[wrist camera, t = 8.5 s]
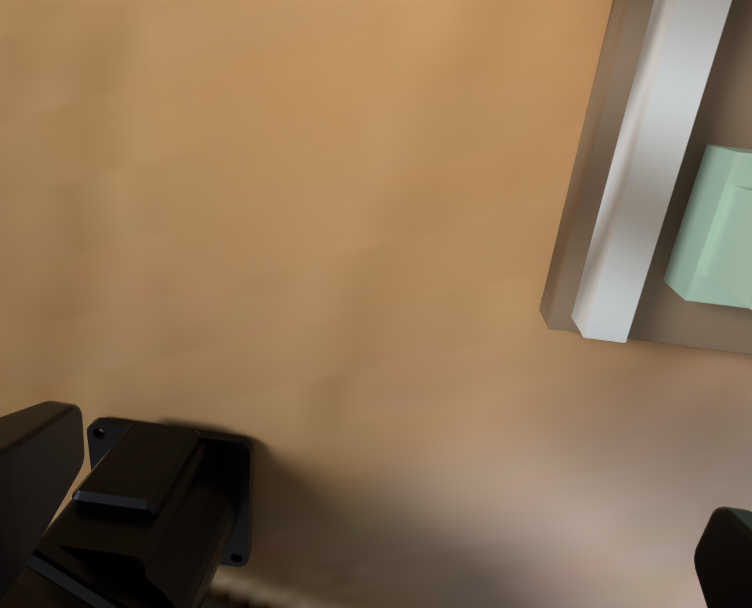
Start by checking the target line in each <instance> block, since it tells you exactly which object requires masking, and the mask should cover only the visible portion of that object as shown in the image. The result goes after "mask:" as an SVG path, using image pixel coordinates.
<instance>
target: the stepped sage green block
mask: <svg viewBox="0 0 752 608" xmlns="http://www.w3.org/2000/svg"><path fill="white" fill-rule="evenodd" d="M663 281H664V282H665V283H666V284H667V285H669V286H670V287H671V288H672V289H673V290H674V291H675V292H677V293H678V294H679V295H680V296H681V297H682V298H683V299H684V300H686V301H695V302H703V303H711V304H719V305H727V306H735V307H743V308H750V309H751V310H752V149H743V148H735V147H726V146H718V145H709V144H707V145H706V148H705V151H704V155H703V158H702V161H701V164H700V167H699V170H698V173H697V176H696V179H695V182H694V185H693V189H692V192H691V195H690V198H689V201H688V204H687V207H686V210H685V213H684V216H683V219H682V223H681V226H680V229H679V232H678V235H677V238H676V241H675V244H674V247H673V250H672V254H671V257H670V260H669V263H668V266H667V269H666V272H665V275H664V278H663Z"/></svg>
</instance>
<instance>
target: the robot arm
mask: <svg viewBox="0 0 752 608" xmlns="http://www.w3.org/2000/svg"><path fill="white" fill-rule="evenodd" d="M99 429H102V430H103V431H104V432H105V433H103V432H101V431H100V430H99ZM87 437H88V446H89V455H90V463H91V472H90V473H89V474H88V475H87V476H86V478H85V479H84V480H83V481H82V482H81V484H80V485H79V486H78V487H77V488H76V490H75V491H74V492H73V494H72V499H71V501H70V502H69V503H68V504H67V505H66V507H65V508H64V509H63V510H62V511H61V513H60V514H59V515H58V516H57V518H56V519H55V520H54V521H53V522H52V524H51V525H50V526H49V524H50V522H51V520H52V519H53V517H54V515H55V513H56V512H57V510H58V508H59V506H60V505H61V503H62V501H63V499H64V498H65V496H66V494H67V492H68V491H69V489H70V487H71V485H72V484H73V482H74V480H75V478H76V477H77V475H78V473H79V471H80V469H81V467H82V464H83V460H84V437H83V421H82V412H81V410H80V408H79V407H78V406H77V405H75V404H69V403H63V402H57V401H46V402H43V403H40V404H37V405H34V406H31V407H28V408H25V409H23V410H20V411H17V412H14V413H11V414H8V415H6V416H3V417H0V608H201V607H202V604H203V602H204V599H205V597H206V595H207V592H208V590H209V587H210V585H211V583H212V580H213V578H214V575H215V573H216V571H217V568H218V566H219V564H222V565H229V566H236V567H241V566H244V565H245V564H246V563H247V562H248V559H249V556H250V553H251V519H252V476H253V445H252V443H251V442H250V440H248V439H247V438H245V437H242V436H235V435H228V434H221V433H214V432H206V431H199V430H193V429H185V428H178V427H171V426H164V425H156V424H149V423H142V422H133V421H126V420H118V419H111V418H97V419H95V420H94V421H93V422H92V423H91V424H90V426H89V427H88V428H87ZM235 448H240V449H242V450H243V452H239V451H237V450H236V449H235ZM48 526H49V527H48ZM47 527H48V528H47ZM46 529H47V530H46ZM236 553H237V554H236ZM238 554H240V555H238ZM694 563H695V569H696V573H697V576H698V579H699V582H700V585H701V589H702V592H703V595H704V598H705V601H706V605H707V608H752V512H751V511H748V510H743V509H737V508H730V507H719V508H717V509H716V510H715V511H714V512H713V513H712V515H711V517H710V519H709V521H708V524H707V526H706V528H705V530H704V532H703V534H702V537H701V539H700V541H699V543H698V545H697V547H696V550H695V555H694Z"/></svg>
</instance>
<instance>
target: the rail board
mask: <svg viewBox="0 0 752 608" xmlns="http://www.w3.org/2000/svg"><path fill="white" fill-rule="evenodd" d="M707 144H709V145H718V146H726V147H735V148H743V149H752V0H613V3H612V8H611V12H610V16H609V20H608V25H607V29H606V33H605V37H604V41H603V46H602V50H601V54H600V58H599V62H598V67H597V71H596V75H595V79H594V83H593V88H592V92H591V96H590V100H589V104H588V109H587V113H586V117H585V121H584V125H583V130H582V134H581V138H580V142H579V147H578V151H577V155H576V159H575V163H574V168H573V172H572V176H571V180H570V184H569V189H568V193H567V197H566V201H565V205H564V210H563V214H562V218H561V222H560V226H559V231H558V235H557V239H556V243H555V247H554V252H553V256H552V260H551V264H550V269H549V273H548V277H547V281H546V285H545V290H544V294H543V298H542V302H541V306H540V312H541V314H542V316H543V318H544V320H545V322H546V324H547V327H548V329H555V330H563V331H571V332H579V333H581V334H582V336H583V337H584V338H591V339H598V340H606V341H614V342H622V343H626V340H627V339H634V340H641V341H649V342H657V343H665V344H673V345H681V346H688V347H696V348H704V349H712V350H720V351H728V352H735V353H743V354H751V355H752V310H751V309H750V308H743V307H735V306H727V305H719V304H711V303H703V302H695V301H686V300H684V299H683V298H682V297H681V296H680V295H679V294H678V293H677V292H675V291H674V290H673V289H672V288H671V287H670V286H669V285H667V284H666V283H665V282H664V281H663V278H664V275H665V272H666V269H667V266H668V263H669V260H670V257H671V254H672V250H673V247H674V244H675V241H676V238H677V235H678V232H679V229H680V226H681V223H682V219H683V216H684V213H685V210H686V207H687V204H688V201H689V198H690V195H691V192H692V189H693V185H694V182H695V179H696V176H697V173H698V170H699V167H700V164H701V161H702V158H703V155H704V151H705V148H706V145H707Z"/></svg>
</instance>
